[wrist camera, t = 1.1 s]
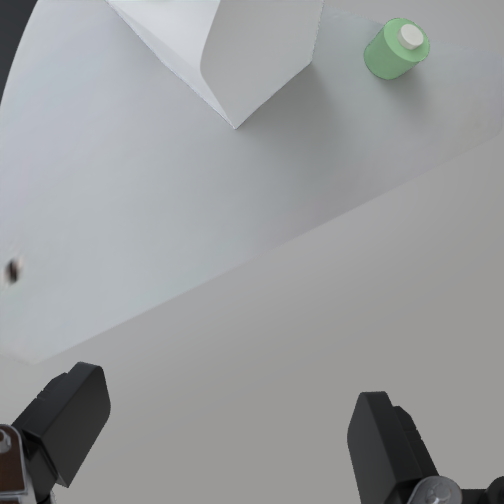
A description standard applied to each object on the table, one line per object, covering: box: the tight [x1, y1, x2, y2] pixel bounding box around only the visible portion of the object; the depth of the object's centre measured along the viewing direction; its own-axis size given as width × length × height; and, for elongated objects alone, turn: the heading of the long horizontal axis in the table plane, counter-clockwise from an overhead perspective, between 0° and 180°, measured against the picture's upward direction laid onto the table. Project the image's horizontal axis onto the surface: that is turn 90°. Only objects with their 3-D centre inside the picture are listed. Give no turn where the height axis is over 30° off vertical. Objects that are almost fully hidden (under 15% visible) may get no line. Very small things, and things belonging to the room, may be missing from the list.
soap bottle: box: [364, 18, 430, 80], centre depth 26 cm, size 5×5×8 cm
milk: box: [105, 0, 324, 129], centre depth 18 cm, size 12×12×26 cm
